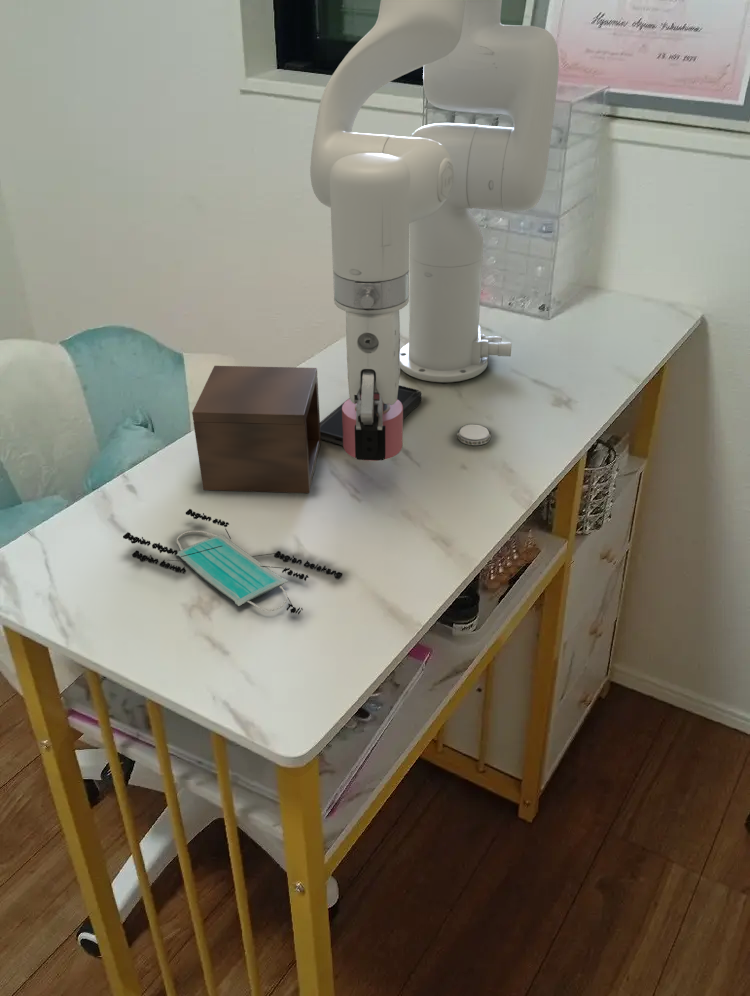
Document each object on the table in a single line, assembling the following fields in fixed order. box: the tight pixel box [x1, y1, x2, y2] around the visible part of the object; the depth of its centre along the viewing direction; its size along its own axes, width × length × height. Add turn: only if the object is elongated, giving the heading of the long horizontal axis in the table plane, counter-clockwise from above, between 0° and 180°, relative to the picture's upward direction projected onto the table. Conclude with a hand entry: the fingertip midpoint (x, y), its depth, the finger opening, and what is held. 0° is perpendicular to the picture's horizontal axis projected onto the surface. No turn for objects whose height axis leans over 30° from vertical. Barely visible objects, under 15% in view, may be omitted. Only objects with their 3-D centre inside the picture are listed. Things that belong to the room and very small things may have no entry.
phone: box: [320, 384, 422, 447], centre depth 114 cm, size 8×1×15 cm
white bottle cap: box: [457, 423, 492, 446], centre depth 110 cm, size 4×4×1 cm
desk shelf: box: [191, 365, 322, 494], centre depth 103 cm, size 12×11×10 cm
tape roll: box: [342, 394, 404, 462], centre depth 99 cm, size 7×7×5 cm
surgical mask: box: [122, 508, 343, 616], centre depth 89 cm, size 21×4×10 cm
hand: (373, 439), depth 100 cm, fingers closed on tape roll, 6 cm apart
